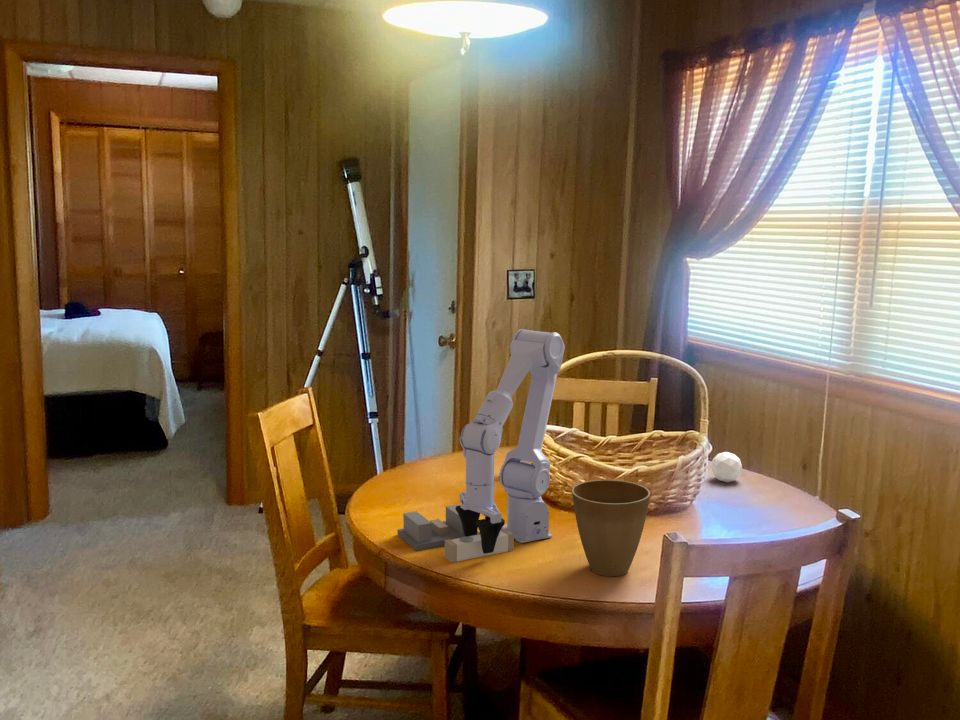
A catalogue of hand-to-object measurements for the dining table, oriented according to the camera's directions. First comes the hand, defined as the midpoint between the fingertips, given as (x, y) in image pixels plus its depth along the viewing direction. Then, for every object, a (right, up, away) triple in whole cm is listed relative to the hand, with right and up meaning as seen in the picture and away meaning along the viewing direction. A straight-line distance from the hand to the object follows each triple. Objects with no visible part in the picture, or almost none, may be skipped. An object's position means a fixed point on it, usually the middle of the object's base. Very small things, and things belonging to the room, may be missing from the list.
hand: (479, 545), depth 174 cm
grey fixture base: (-9, 0, +9) cm, 13 cm away
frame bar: (0, -2, 0) cm, 2 cm away
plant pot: (+25, -3, -7) cm, 26 cm away
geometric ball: (+64, +6, +49) cm, 81 cm away
